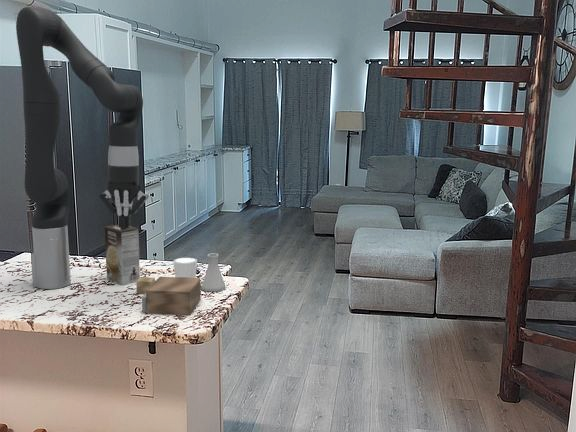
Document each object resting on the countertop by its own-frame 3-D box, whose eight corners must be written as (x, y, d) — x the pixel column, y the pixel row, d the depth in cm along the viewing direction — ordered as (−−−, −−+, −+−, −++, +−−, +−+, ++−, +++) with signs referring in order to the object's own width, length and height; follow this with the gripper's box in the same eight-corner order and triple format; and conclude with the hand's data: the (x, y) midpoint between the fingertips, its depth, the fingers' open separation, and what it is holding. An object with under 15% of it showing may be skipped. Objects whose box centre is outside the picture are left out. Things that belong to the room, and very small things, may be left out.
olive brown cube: (136, 293, 158) (136, 281, 158) (141, 289, 162) (140, 277, 162) (150, 294, 158) (150, 281, 158) (155, 289, 162) (154, 277, 162)
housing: (146, 313, 143) (145, 290, 142) (160, 297, 155) (159, 276, 154) (190, 315, 143) (189, 292, 142) (200, 299, 154) (200, 278, 153)
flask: (221, 293, 160) (221, 258, 158) (196, 291, 161) (196, 256, 159) (229, 285, 167) (229, 252, 165) (205, 284, 168) (205, 250, 166)
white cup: (175, 279, 172) (174, 257, 170) (198, 279, 172) (198, 257, 171) (172, 286, 165) (171, 263, 164) (196, 286, 166) (196, 263, 164)
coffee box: (105, 278, 172) (103, 226, 169) (124, 274, 176) (122, 223, 173) (122, 285, 165) (120, 231, 162) (141, 281, 170) (139, 227, 167)
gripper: (153, 163, 151) (153, 227, 154) (104, 161, 152) (105, 225, 155) (143, 166, 144) (144, 233, 147) (92, 163, 145) (94, 230, 148)
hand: (124, 229), depth 151 cm, fingers closed
